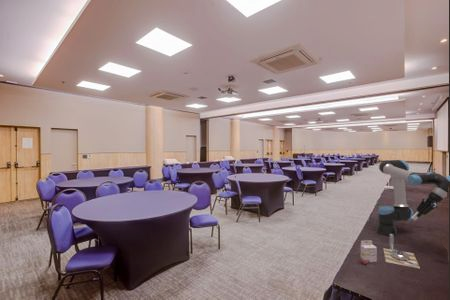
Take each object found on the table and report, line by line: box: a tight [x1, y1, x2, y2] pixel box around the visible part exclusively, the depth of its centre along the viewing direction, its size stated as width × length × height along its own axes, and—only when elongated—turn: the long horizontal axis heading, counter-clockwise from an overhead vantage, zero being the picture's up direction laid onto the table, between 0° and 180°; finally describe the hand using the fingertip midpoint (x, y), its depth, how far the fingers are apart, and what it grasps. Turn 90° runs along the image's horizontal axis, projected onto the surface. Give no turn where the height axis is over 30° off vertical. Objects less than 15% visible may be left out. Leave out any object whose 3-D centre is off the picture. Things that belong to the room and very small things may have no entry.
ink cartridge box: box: [360, 239, 378, 265], centre depth 159 cm, size 9×5×15 cm, turn 92°
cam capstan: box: [389, 234, 412, 260], centre depth 161 cm, size 17×10×13 cm, turn 7°
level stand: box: [383, 247, 421, 269], centre depth 161 cm, size 22×18×2 cm
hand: (413, 219), depth 168 cm, fingers closed
